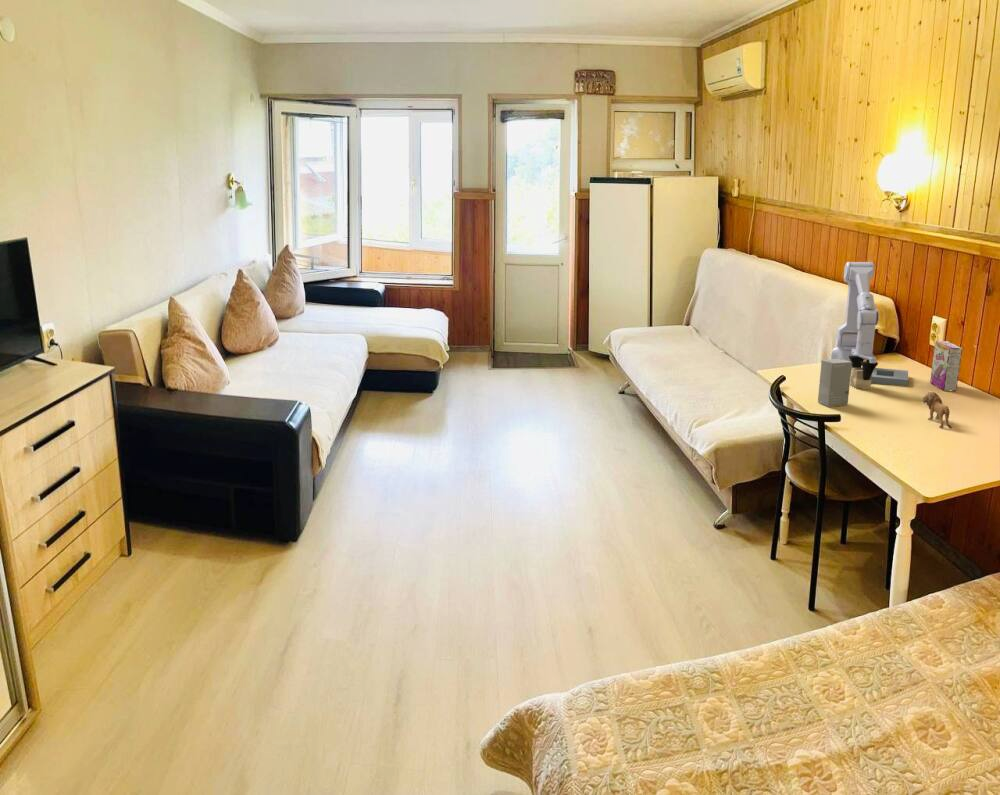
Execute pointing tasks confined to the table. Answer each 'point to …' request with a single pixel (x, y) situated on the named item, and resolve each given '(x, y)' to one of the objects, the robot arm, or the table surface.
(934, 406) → the lion figurine
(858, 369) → the keyed plug
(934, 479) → the table surface
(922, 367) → the table surface
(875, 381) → the socket plate
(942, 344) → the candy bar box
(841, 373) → the skincare box
